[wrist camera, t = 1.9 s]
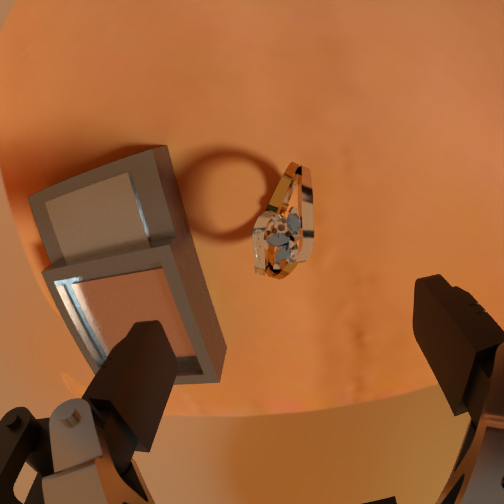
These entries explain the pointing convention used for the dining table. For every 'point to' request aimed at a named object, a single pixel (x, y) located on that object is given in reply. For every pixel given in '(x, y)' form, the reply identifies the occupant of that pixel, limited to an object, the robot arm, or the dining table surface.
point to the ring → (285, 226)
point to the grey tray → (128, 262)
